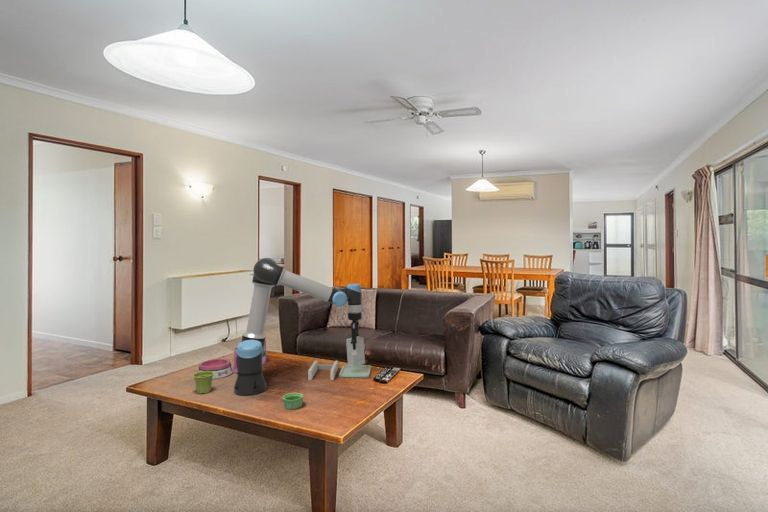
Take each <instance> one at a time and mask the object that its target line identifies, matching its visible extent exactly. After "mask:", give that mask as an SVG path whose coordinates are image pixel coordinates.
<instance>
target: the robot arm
mask: <svg viewBox="0 0 768 512" xmlns="http://www.w3.org/2000/svg"><path fill="white" fill-rule="evenodd" d="M251 280H252V281H251V282H252V284H253V286H254V287H253V293H252V297H251V303H250V309H249V315H248V320H247V324H246V325H247V326H246V331H245V332H243V333H242V335H241V336H242V337H241V340H240V342H239V343H238V344H237V346H236V348H237V350H236V352H237V373H236V374H237V375H236V376H237V377H236V379H235V383H234V386H233V393H234V394H236V395H238V396H254V395H258V394H261V393H264V392H265V391H266V390H267V382H266V380H265V379H266V378H265V377H264V374H263V365H262V355H263V351H264V343H265V340H266V339H267V338H266V335H265V334H264V331H265V324H266V320H267V315H268V309H269V302H270V300H271V299H270V297H271V292H272V288H274V287H275V286H283V287H286V288H288V289H291V290H293V291H296V292H299V293H302V294H304V295H308V296H310V297H313V298H316V299H319V300H322V301H325V302H326V303H330V304H332V305H335V306H336V307H339V308H341V307H344V306H346V304H347V312H348V313H347V320H350V321H351V323H350V326H351V328H350V329H351V330H350V331H351V338H352V341H351V342H350V343H351V344H352V355H357V336H359V337H360V334H359V328H360V327H359V326H360V325H359V324H360V322H359V320H360V321H361V320H362V318H363V317H362V316H363V315H362V308H364V307H363V305H362V285H361V284H360V283H348V284H347V285H346V287H344V288H343V287H340V288H336V287H335V288H334V287H331V286H328V285H326V284H324V283H320V282H318V281H316V280H313V279H310V278H307V277H304V276H302V275H299V274H296V273H293V272H292V271H288V270H286V269H285V266H280V265H279V264H278V263H277V262H276V261H275V259H272V258H269V257H262V258H260V259H258V260H257V261H256V263H255V264H254V266H253V276H252V279H251Z"/></svg>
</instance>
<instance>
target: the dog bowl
mask: <svg viewBox="0 0 768 512" xmlns="http://www.w3.org/2000/svg"><path fill="white" fill-rule="evenodd" d="M197 370H198V371H197V373H198V372H203V371H212V372H214V375H213V377H212V381H213V380H219V379H224V378H228V377H230V376H232V375H233V373H234V369H233V367H232V363H231V362H230V360H229V359H227V358H213V359H211V358H210V359H208V360H204V361H202V362H200V363H199V366H198V369H197Z"/></svg>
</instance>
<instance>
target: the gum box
mask: <svg viewBox="0 0 768 512" xmlns="http://www.w3.org/2000/svg"><path fill="white" fill-rule="evenodd" d="M233 350H234V351H233V358H234V359H233V373H234V374H237V352H236V350H237V347H235V348H233ZM266 363H267V340H266V339H265V343H264V351H263V355H262V366H263V365H264V364H266Z"/></svg>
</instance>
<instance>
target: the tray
mask: <svg viewBox="0 0 768 512" xmlns="http://www.w3.org/2000/svg"><path fill="white" fill-rule="evenodd" d="M371 369H372V365H371V364H368V365H367V364H365V365H364V364H361V365H358V366H355V367H352V366H349V365H348V364H344V365H342V366H341V369H340V372H339V374H338V379H370V374H371Z"/></svg>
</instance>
